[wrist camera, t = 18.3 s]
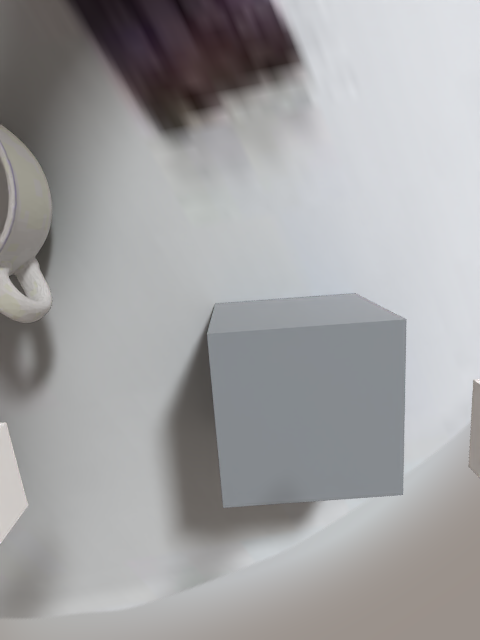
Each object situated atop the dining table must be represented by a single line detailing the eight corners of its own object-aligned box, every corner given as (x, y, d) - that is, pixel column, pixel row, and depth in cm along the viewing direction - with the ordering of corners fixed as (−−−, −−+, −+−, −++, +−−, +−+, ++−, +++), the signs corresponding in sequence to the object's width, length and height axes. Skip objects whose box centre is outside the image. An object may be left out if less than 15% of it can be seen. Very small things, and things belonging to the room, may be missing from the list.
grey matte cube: (215, 303, 29) (206, 334, 20) (355, 293, 29) (406, 319, 20) (226, 431, 31) (223, 507, 22) (356, 422, 31) (403, 494, 22)
